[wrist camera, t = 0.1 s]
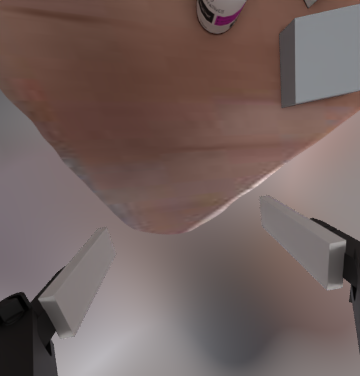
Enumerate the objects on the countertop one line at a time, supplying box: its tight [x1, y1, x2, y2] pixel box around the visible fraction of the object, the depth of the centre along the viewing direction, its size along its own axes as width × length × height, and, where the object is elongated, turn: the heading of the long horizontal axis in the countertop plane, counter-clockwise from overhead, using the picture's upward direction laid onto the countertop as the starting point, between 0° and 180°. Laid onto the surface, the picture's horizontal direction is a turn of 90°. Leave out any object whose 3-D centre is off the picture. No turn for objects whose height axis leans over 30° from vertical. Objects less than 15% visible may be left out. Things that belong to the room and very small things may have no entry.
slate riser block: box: [279, 4, 360, 108], centre depth 34 cm, size 14×14×5 cm
